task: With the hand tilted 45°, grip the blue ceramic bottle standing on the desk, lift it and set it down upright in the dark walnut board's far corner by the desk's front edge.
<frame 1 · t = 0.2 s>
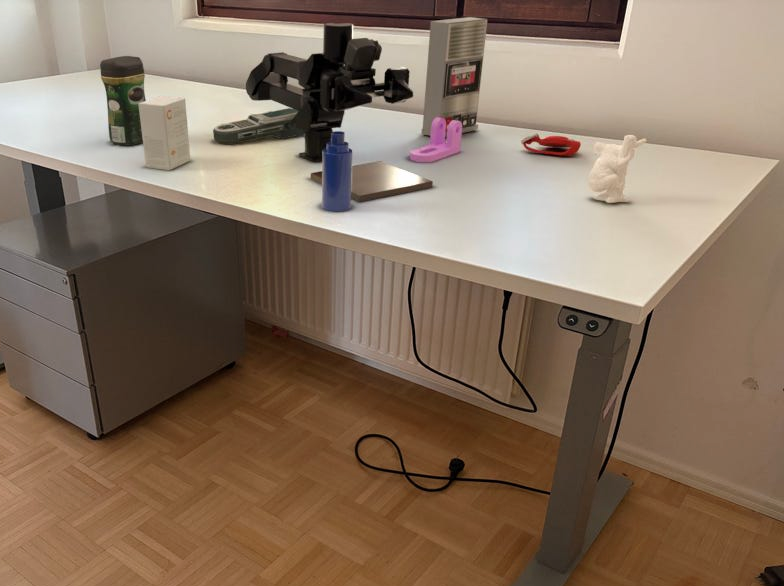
hand: (392, 97, 134), 17 cm above the table, tool horizontal, fingers open, 9 cm apart
bracket: (432, 156, 163), on the table
cassette tape recorder: (449, 133, 180), on the table
white crouching figurine: (607, 201, 135), on the table
communication device: (260, 137, 178), on the table
small box: (168, 165, 157), on the table
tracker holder: (548, 152, 165), on the table
walnut board: (370, 183, 145), on the table
coffee jar: (131, 142, 174), on the table
blue bottle: (336, 206, 133), on the table
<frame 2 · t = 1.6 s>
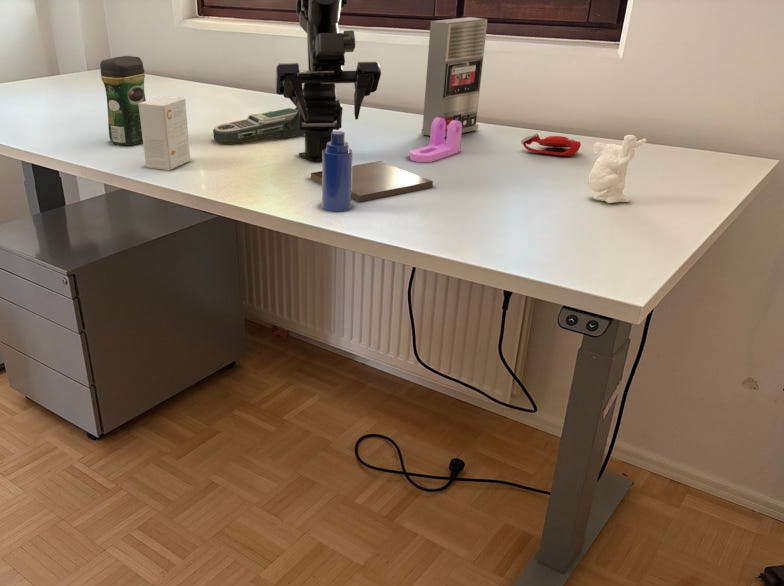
hand: (331, 118, 133), 14 cm above the table, tool tilted 45°, fingers open, 9 cm apart
nothing on the table moved.
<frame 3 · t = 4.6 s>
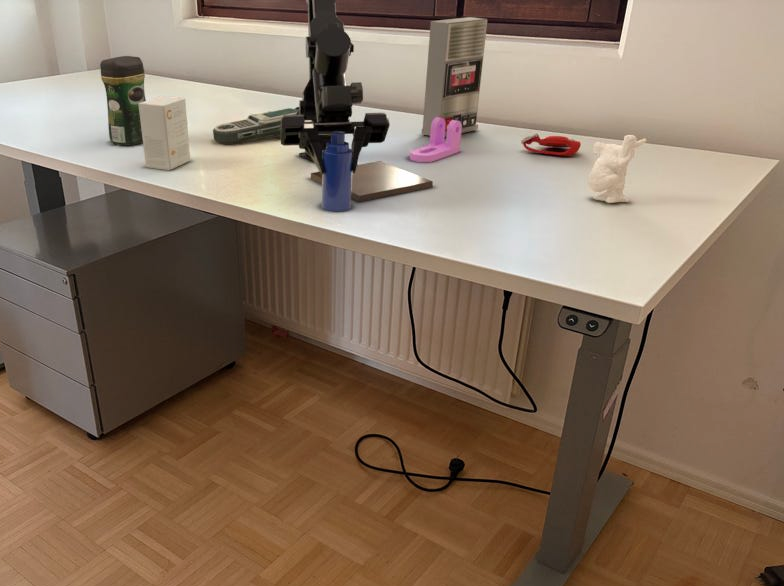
hand: (338, 172, 128), 7 cm above the table, tool tilted 45°, fingers closed on blue bottle, 5 cm apart
blue bottle: (336, 206, 133), on the table, touching gripper
everything else where it was.
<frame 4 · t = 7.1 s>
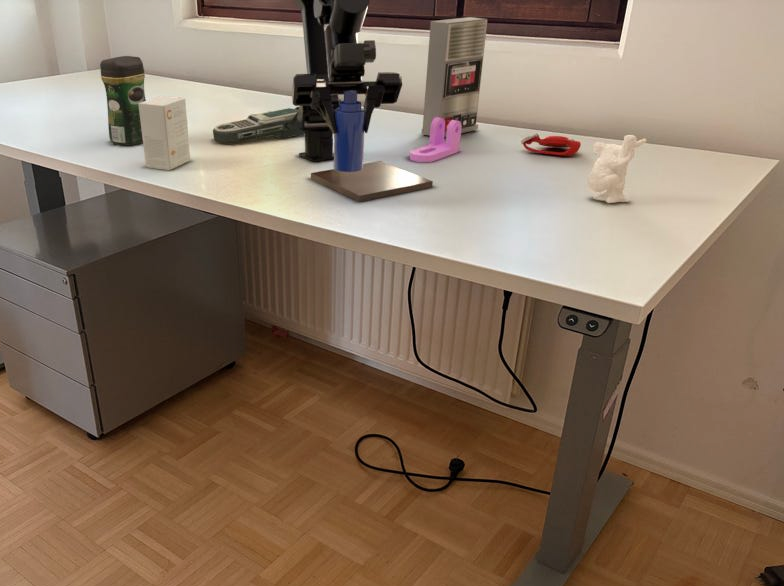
hand: (350, 132, 127), 13 cm above the table, tool tilted 45°, fingers closed on blue bottle, 5 cm apart
blue bottle: (348, 167, 132), point 6 cm above the table, touching gripper
everything else where it was.
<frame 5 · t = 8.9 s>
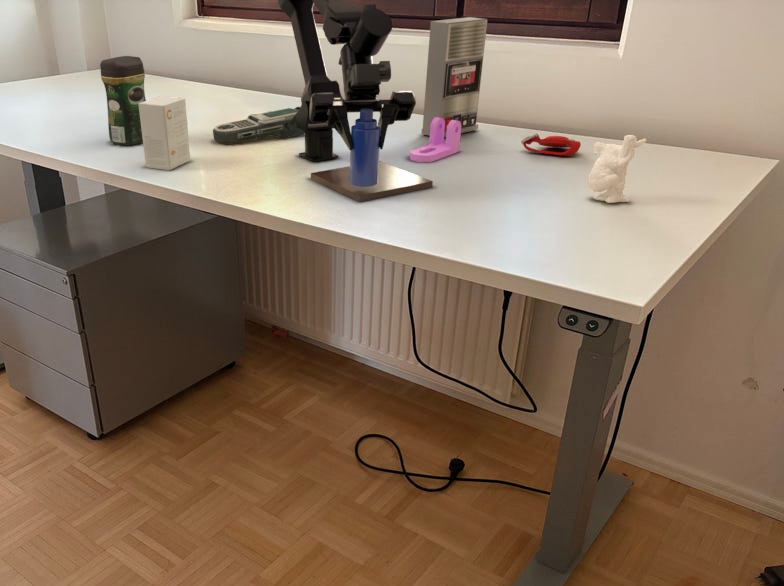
hand: (366, 148, 133), 9 cm above the table, tool tilted 45°, fingers closed on blue bottle, 5 cm apart
blue bottle: (363, 182, 137), point 2 cm above the table, touching gripper
everything else where it was.
when the fingers open (8 cm above the table, at t = 9.8 s): blue bottle stays where it is, resting on walnut board.
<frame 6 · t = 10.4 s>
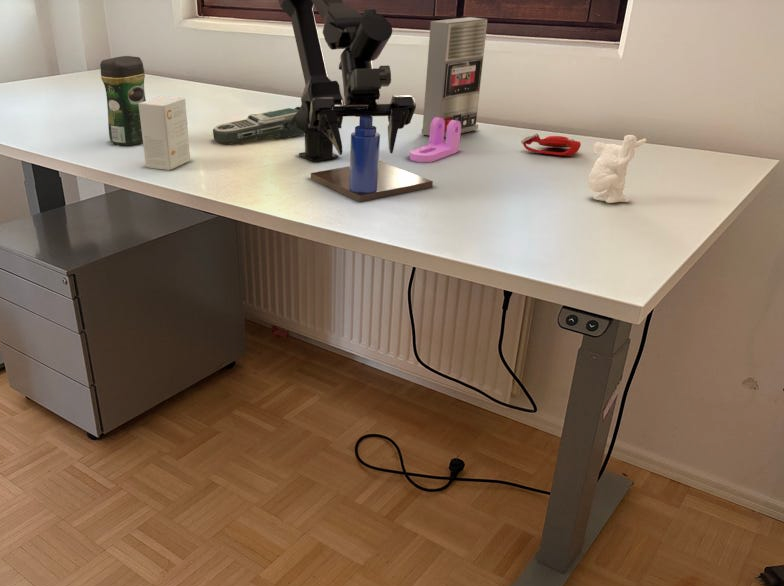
hand: (366, 152, 133), 8 cm above the table, tool tilted 45°, fingers open, 9 cm apart
blue bottle: (363, 189, 138), point 1 cm above the table, touching walnut board
everything else where it was.
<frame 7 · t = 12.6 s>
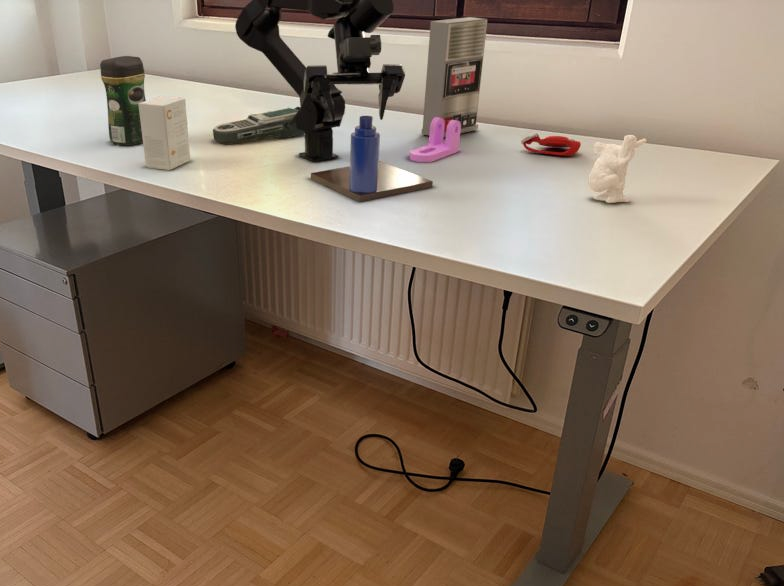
hand: (357, 119, 139), 12 cm above the table, tool tilted 45°, fingers open, 9 cm apart
nothing on the table moved.
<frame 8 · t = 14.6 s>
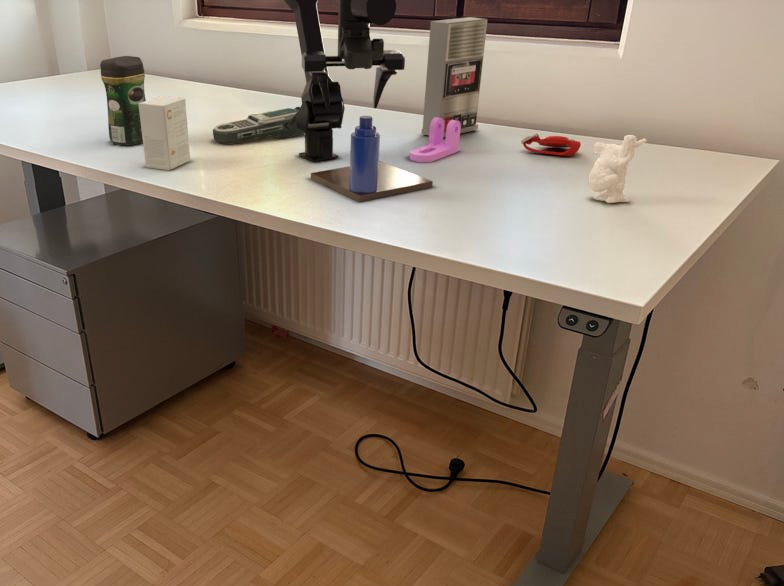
hand: (351, 108, 143), 13 cm above the table, tool pointing down, fingers open, 9 cm apart
nothing on the table moved.
at the end: blue bottle 0.2 cm from the target spot on the walnut board, point 1.2 cm above the walnut board's base; blue bottle tilted 0° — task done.
